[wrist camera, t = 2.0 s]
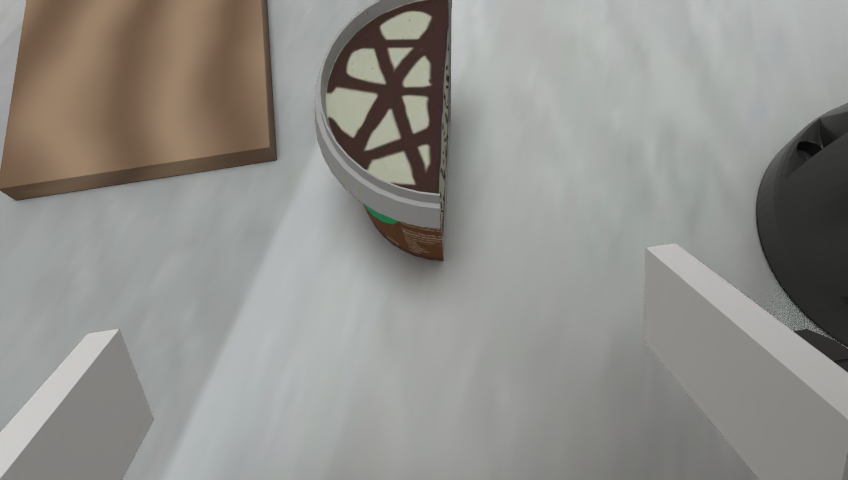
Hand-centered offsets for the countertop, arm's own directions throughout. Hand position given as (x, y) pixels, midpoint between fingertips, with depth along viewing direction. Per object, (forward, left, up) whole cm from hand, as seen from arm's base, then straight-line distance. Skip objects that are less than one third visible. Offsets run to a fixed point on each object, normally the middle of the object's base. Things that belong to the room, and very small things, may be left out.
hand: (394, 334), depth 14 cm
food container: (0, -13, -16) cm, 21 cm away
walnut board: (+15, -24, -16) cm, 32 cm away
